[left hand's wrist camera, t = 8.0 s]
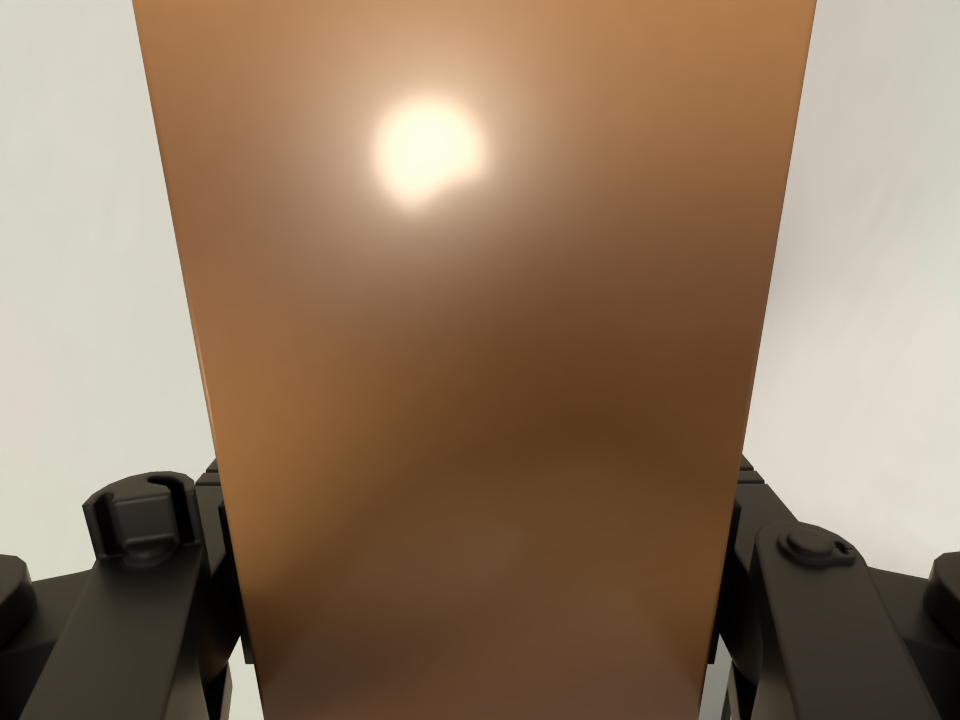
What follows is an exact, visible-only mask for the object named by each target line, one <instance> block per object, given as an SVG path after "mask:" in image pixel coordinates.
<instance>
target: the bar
mask: <svg viewBox="0 0 960 720" xmlns="http://www.w3.org/2000/svg"><path fill="white" fill-rule="evenodd" d="M816 2H817V0H132V3H133V8H134V14H135V19H136V25H137V30H138V36H139V41H140V47H141V52H142V57H143V63H144V68H145V74H146V79H147V85H148V90H149V95H150V101H151V106H152V112H153V117H154V123H155V128H156V134H157V139H158V144H159V150H160V155H161V161H162V166H163V172H164V177H165V183H166V188H167V193H168V199H169V204H170V210H171V215H172V221H173V226H174V232H175V237H176V242H177V248H178V253H179V259H180V264H181V270H182V275H183V280H184V286H185V291H186V297H187V302H188V308H189V313H190V319H191V324H192V329H193V335H194V340H195V346H196V351H197V357H198V362H199V368H200V373H201V378H202V384H203V389H204V395H205V400H206V406H207V411H208V417H209V422H210V427H211V433H212V438H213V444H214V449H215V455H216V460H217V465H218V471H219V476H220V482H221V487H222V493H223V498H224V504H225V509H226V514H227V520H228V525H229V531H230V536H231V542H232V547H233V553H234V558H235V563H236V569H237V574H238V580H239V585H240V591H241V596H242V602H243V607H244V612H245V618H246V623H247V629H248V634H249V640H250V645H251V650H252V656H253V661H254V667H255V672H256V678H257V683H258V689H259V694H260V699H261V705H262V710H263V716H264V720H698V718H699V712H700V706H701V700H702V694H703V688H704V681H705V675H706V669H707V663H708V657H709V651H710V645H711V639H712V633H713V627H714V621H715V615H716V609H717V603H718V597H719V590H720V584H721V578H722V572H723V566H724V560H725V554H726V548H727V542H728V536H729V530H730V524H731V518H732V512H733V505H734V499H735V493H736V487H737V481H738V475H739V469H740V463H741V457H742V451H743V445H744V439H745V433H746V427H747V420H748V414H749V408H750V402H751V396H752V390H753V384H754V378H755V372H756V366H757V360H758V354H759V348H760V342H761V336H762V329H763V323H764V317H765V311H766V305H767V299H768V293H769V287H770V281H771V275H772V269H773V263H774V257H775V251H776V244H777V238H778V232H779V226H780V220H781V214H782V208H783V202H784V196H785V190H786V184H787V178H788V172H789V166H790V159H791V153H792V147H793V141H794V135H795V129H796V123H797V117H798V111H799V105H800V99H801V93H802V87H803V81H804V74H805V68H806V62H807V56H808V50H809V44H810V38H811V32H812V26H813V20H814V14H815V8H816Z"/></svg>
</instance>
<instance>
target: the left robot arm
mask: <svg viewBox="0 0 960 720" xmlns="http://www.w3.org/2000/svg"><path fill="white" fill-rule="evenodd" d="M82 507H83V511H84V515H85V519H86V522H87V526H88V530H89V533H90V537H91V541H92V545H93V548H94V552H95V556H96V561H95V563H94V565H93V567H92V569H90V570H87V571H83V572H78V573H73V574H69V575H64V576H59V577H54V578H49V579H44V580H39V581H34V582H32V581H31V577H30V574H29V571H28V568H27V565H26V563H25V562H24V561H23V560H21V559H20V558H18V557H17V556H11V555H2V554H0V720H228V719H229V711H230V702H231V694H232V680H231V673H230V668H229V662H228V660H229V657H230V655H231V653H232V651H233V649H234V647H235V645H236V643H237V641H238V639H239V637H240V636H241V642H242V647H243V653H244V659H245V664H254V661H253V656H252V650H251V645H250V640H249V634H248V629H247V623H246V618H245V612H244V607H243V602H242V596H241V591H240V585H239V580H238V574H237V569H236V563H235V558H234V553H233V547H232V542H231V536H230V531H229V525H228V520H227V514H226V509H225V504H224V498H223V493H222V487H221V482H220V476H219V471H218V465H217V460H216V458H215V460H214V461H213V462H212V463H211V465H210V466H209V467H208V468H207V469H206V473H203V474H202V475H201V477H200V478H199V479H198V480H197V481H196V483H195V484H194V480H192V479H191V478H190V477H188V476H187V475H186V474H182V473H177V472H172V471H162V472H149V473H144V474H139V475H134V476H130V477H127V478H124V479H122V480H119V481H117V482H114V483H111V484H109V485H107V486H106V487H104V488H102V489H101V490H99V491H97V492H96V493H94V494H92V495H91V497H90V498H89V499H88V500H87V501H86V502H85V503H84V504H83V505H82ZM719 633H720V635H721V637H722V639H723V641H724V643H725V645H726V647H727V649H728V651H729V653H730V655H731V657H732V662H731V668H730V673H729V678H728V683H727V689H726V694H725V699H724V704H723V710H722V716H721V720H730V716H731V717H732V720H960V551H959V552H951V553H943V554H942V555H941V556H939V557H938V558H937V559H935V560H934V563H933V566H932V569H931V572H930V575H929V579H925V578H920V577H915V576H910V575H905V574H900V573H895V572H890V571H885V570H880V569H876V568H872V567H868V566H867V564H866V562H865V560H864V558H863V557H862V556H861V554H860V553H859V552H858V551H857V549H856V548H855V547H854V546H853V545H852V544H850V543H849V542H847V541H846V540H845V539H843V538H842V537H840V536H839V535H837V534H835V533H833V532H830V531H828V530H826V529H823V528H821V527H819V526H815V525H811V524H807V523H803V522H799V521H798V520H797V519H796V518H795V517H794V515H793V514H792V513H791V512H790V511H789V509H788V508H787V507H786V506H785V505H784V503H783V502H782V501H781V500H780V499H779V497H778V496H777V495H776V494H775V493H774V491H773V490H772V489H771V488H770V487H769V485H768V484H765V483H764V479H763V478H762V477H761V476H760V475H759V473H758V472H757V471H754V467H753V466H752V465H751V464H750V463H749V461H748V460H747V459H746V458H745V457H744V456H743V454H742V457H741V463H740V469H739V475H738V481H737V487H736V493H735V499H734V505H733V512H732V518H731V524H730V530H729V536H728V542H727V548H726V554H725V560H724V566H723V572H722V578H721V584H720V590H719V597H718V603H717V609H716V615H715V621H714V627H713V633H712V639H711V645H710V651H709V657H708V663H707V664H714V661H715V656H716V650H717V644H718V639H719Z"/></svg>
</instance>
